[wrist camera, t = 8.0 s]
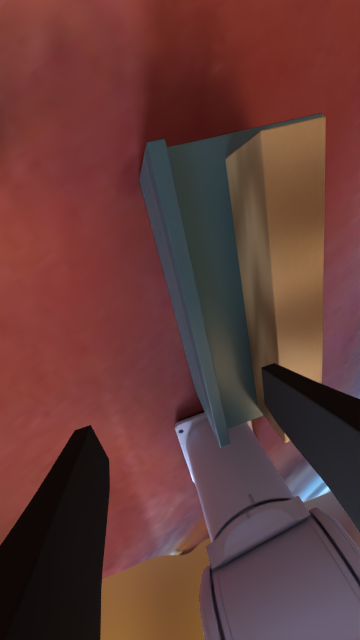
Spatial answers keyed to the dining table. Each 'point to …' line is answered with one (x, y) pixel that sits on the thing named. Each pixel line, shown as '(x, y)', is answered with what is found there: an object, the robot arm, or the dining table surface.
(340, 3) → the dining table surface
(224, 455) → the robot arm
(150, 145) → the shelf
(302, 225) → the stick
